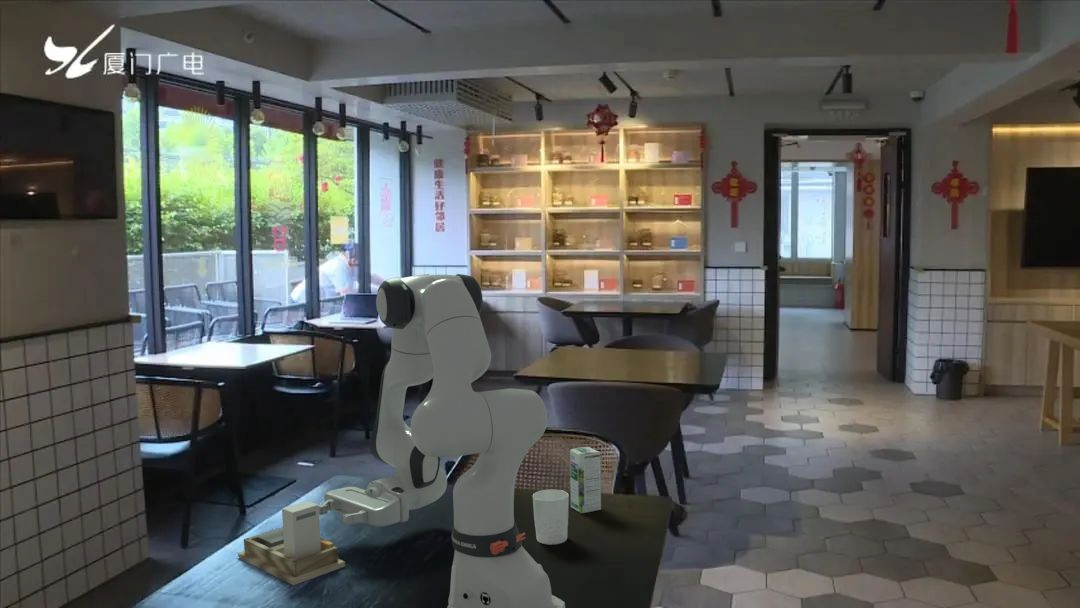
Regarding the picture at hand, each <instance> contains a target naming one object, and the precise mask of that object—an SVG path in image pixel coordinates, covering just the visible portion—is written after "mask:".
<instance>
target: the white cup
mask: <svg viewBox="0 0 1080 608" xmlns="http://www.w3.org/2000/svg"><path fill="white" fill-rule="evenodd" d="M569 499H570V496H569V493H568V492H567V491H564V490H560V489H542V490H539V491H536V492H533V494H532V507H533V508H532V509H533V517H534V518H533V521H534V528H535V536H536V540H537V542H538V543H540V544H543V545H550V546H551V545H560V544H562V543H565V542H566V541H567V539H568V527H569V503H570V502H569Z"/></svg>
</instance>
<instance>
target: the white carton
mask: <svg viewBox="0 0 1080 608" xmlns="http://www.w3.org/2000/svg"><path fill="white" fill-rule="evenodd" d="M318 505H319V504H317V503H314V502H312V501H309V500H306V501H303V502H299V503H296V504H292V505H290V506H284V507H282V508H281V515H282V527H283V536H284V552H285V555H286V556H288V557H290V558H293V559H295V560H297V559H300V558H303V557H306V556H309V555H312V554H315V553H318V552H321V542H320V538H321V529H320V528H321V527H320V514H319V506H318Z"/></svg>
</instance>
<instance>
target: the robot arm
mask: <svg viewBox="0 0 1080 608" xmlns="http://www.w3.org/2000/svg"><path fill="white" fill-rule="evenodd" d="M376 294H377V295H376V299H375V304H376V306H375V307H376V311H377V314H378V317H379V319H380V321H381V322H382V323H383V325H384V326H386V327H387V328H391V329H392V330H391V346H390V347H391V348H390V349H391V351H390V357H389V360H388V361H387V363H386V364H385V365H384V367H383V370H382V373H381V379H380V383H379V385H380V386H379V394H378V399H377V400H378V401H377V406H376V407H377V408H376V415H375V416H376V417H375V420H374V425H373V427H372V431H371V433H370V437H369V451H370V453H371V455H372V457H373V458H374V459H375V460H376V461H378V462H380V463H384V464H386V465H389V466H391V467H393V468H394V469H395V472H394V474H392V475H390V476H386V477H382V478H378V479H376V480H372V481H370V482H369V484H368V485H367V487H366V489H363V488H360V487H357V486H345V487H341V488H336V489H332V490H327V491H326V492H325V493H324V498H323V499H324V502H323V503H322V504H318V506H319V516H323V515H326V514H328V512H329V511H333V512H335V513H338V514H341V515H342V516H341V522H342V524H344V525H346V526H348V525H352V524H360V523H361V524H363V523H365V524H368V525H371V526H373V527H378V528H379V527H380V528H381V527H387V526H391V525H394V524H398V523H405V522H408V521H409V518H410V517H409V516H410V515H409V514H410V513H409V512H410V510H412V511H413V510H417V509H421V508H423V507H425V506H429V505H430V504H432V503H434V502H436V501H437V500H439V499H440V498H441V497H442V496H443V495H444V494H445V493H446V490H447V486H448V478H447V473H446V472H445V470H444V469H443V468H442V466H441V458H455V457H461V456H468V455H475V454H478V457H477V459H476V461H475V462H474V464H473V465H472V466H471V467H470V468H469V469H468V470H467V471H465V472H464V473H463V474H461V475H460V476H459V477H458V478H457V480H456V482H455V484H454V487H453V489H452V500H453V501H452V503H453V525H452V527H451V543H452V548H453V549H454V551H453V552H454V553H453V560H452V565H451V572H450V573H451V574H450V587H449V589H450V590H449V595H448V599H447V602H448V605H447V607H446V608H566V602H565V601H563V600H562V599H561V598H558V597H557V596H555V595H553V594H552V587H551V582H550V578H549V575H548V574H547V573H546V572H545V570H544V568H543V566H542V564H540V563H537V561H535V559H534V558H533V557H532V556H531V555H530V554H529V553H528V551H527V550H526V549H525V548H524V546H522V545H523V542H522V541H524V539H526V536H525V535H526V532H523V533H520V532H519V531H520V530H519V528H518V526H517V523H516V522H515V515H514V514H515V511H514V509H515V508H514V507H515V506H514V505H515V503H514V502H515V501H514V500H515V484H516V478H517V476H518V472H519V469H520V466H521V464H522V462H523V460H524V459H525V457H526V455H527V454H528V452H529V451H530V449H531V448H532V447H533V446H534V445H535V443H537V442H538V441H539V440H540V439H541V438H543V437H542V436H543V435H544V433H545V431H546V428H547V425H548V411H547V406H546V405H545V402H544V401H543V399H542V398H541V396H540V395H539V394H538V393H537V392H535V391H534V390H530V389H525V388H524V389H523V388H503V389H494V390H484V391H474V389H473V387H472V383H473V382H474V381H476V380H478V379H479V378H480V377H482V376H483V375H484V374H485V373H486V372H487V371H488V370H489V368H490V365H491V362H492V361H491V360H492V351H491V348H490V345H489V341H488V339H487V335H486V331H485V329H484V328H485V327H484V326H483V322H482V318H481V316H480V314H481V312H482V310H483V293H482V289H481V286H480V284H479V282H478V280H476V278H475V277H474V276H472V275H468V274H461V273H460V274H459V273H457V274H455V275H454V274H453V275H452V274H429V273H428V274H416V275H411V276H405V277H404V276H403V277H399V276H396V277H393V278H389V279H386V280H384V281H382V282H381V284H380V285H379V287H378V289H377V293H376ZM430 380H432V385H431V388H430V389H429V392H428V393H427V395H426V397H425V398H424V400H422V401H421V402H420V403H419V404H418V405H417V407H416V409H415V410H414V411H413V414H412V417H411V421H410V426H408V425H407V423H406V422H405V420H404V416H403V413H404V407H405V402H406V401H405V399H406V393H407V389H408V387H413V386H418V385H422V384H425V383H428V382H430ZM524 536H525V537H524Z"/></svg>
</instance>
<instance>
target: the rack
mask: <svg viewBox="0 0 1080 608" xmlns="http://www.w3.org/2000/svg"><path fill="white" fill-rule="evenodd" d="M320 542H321V552H318V553H315V554H312V555H309V556H306V557H303V558H300V559H297V560H295V559H293V558H290V557H288V556H286V555H285V552H284V536H283V526H282V527H278V528H276V529H272V530H269V531H266V532H263V533H260V534H256V535H253V536H249V537H247V538H244V539H243V547H244V548H243V549H244V551H240V552H238V553H237V557H239V558H238V559H240V558H241V559H240V560H242V561H244V560H245V561H244V562H246V561H247V562H246V563H248V564H250V565H252V566H254V567H256V568H258V569H261V570H262V571H264V572H266V573H268V574H270V575H272V576H273V577H276V578H278V579H279V580H282V581H284V582H286V583H288V584H290V585H292V586H296V585H298V584H302V583H303V582H307V581H309V580H312V579H315V578H317V577H320V576H322V575H326V574H329V573H331V572H333V571H336V570H339V569H342V568H344V567H346V561H344V560H343V559H340V558H339V556H338V547H337V546H334V542H331V541H329V540H326V539H325V538H321V537H320Z"/></svg>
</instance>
